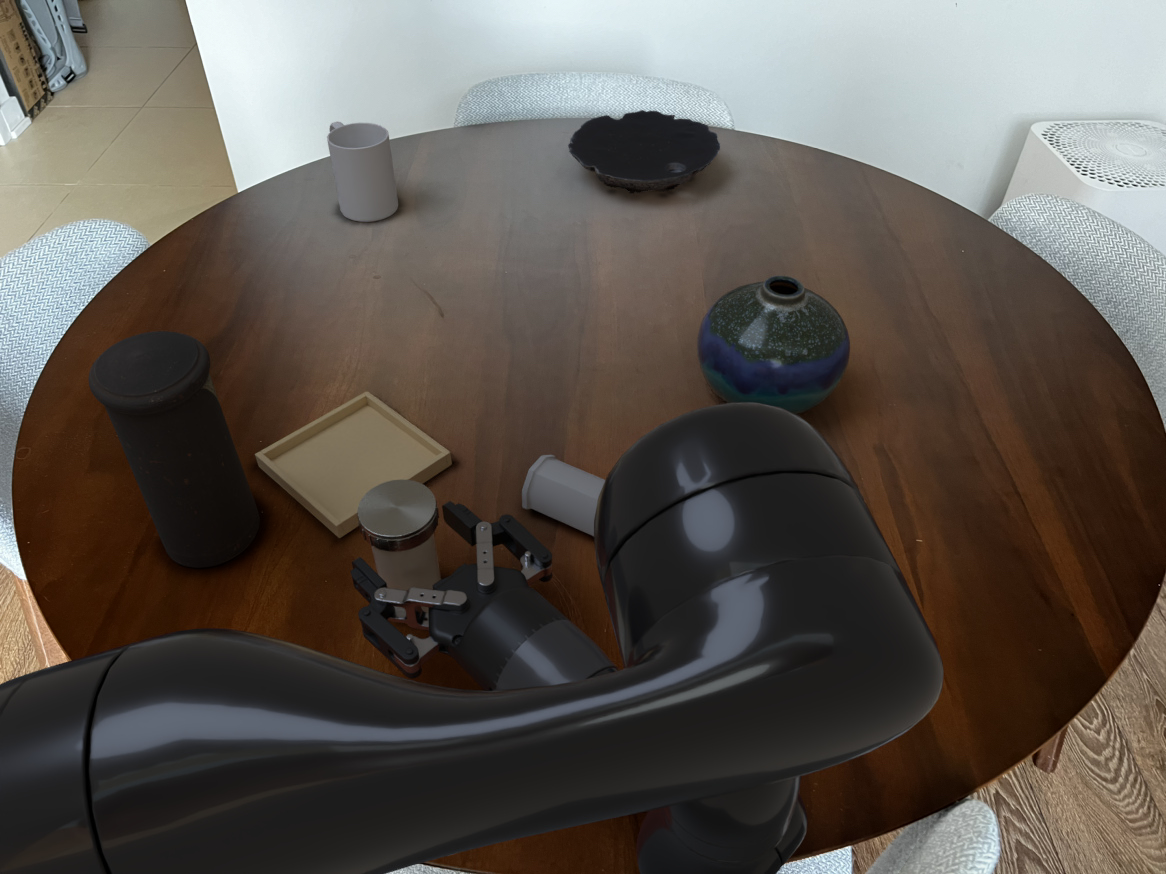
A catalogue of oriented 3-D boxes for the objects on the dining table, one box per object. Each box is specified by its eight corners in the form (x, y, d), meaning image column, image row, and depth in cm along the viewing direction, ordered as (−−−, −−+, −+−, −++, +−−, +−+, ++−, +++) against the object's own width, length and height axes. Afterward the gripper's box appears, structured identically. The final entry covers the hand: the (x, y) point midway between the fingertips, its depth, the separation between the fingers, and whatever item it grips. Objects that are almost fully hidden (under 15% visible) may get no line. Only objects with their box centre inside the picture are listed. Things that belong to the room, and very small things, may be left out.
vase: (866, 394, 97) (896, 289, 88) (776, 462, 89) (799, 354, 80) (753, 331, 105) (770, 228, 96) (661, 388, 97) (671, 282, 88)
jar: (408, 630, 74) (391, 546, 67) (371, 596, 77) (351, 511, 70) (455, 595, 77) (444, 510, 70) (417, 563, 79) (403, 478, 72)
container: (278, 500, 85) (223, 324, 71) (242, 576, 78) (174, 398, 64) (188, 493, 85) (116, 317, 72) (145, 568, 79) (57, 389, 65)
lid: (392, 565, 67) (389, 550, 66) (344, 523, 70) (340, 507, 69) (455, 522, 71) (453, 506, 69) (406, 483, 74) (403, 467, 72)
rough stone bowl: (725, 210, 126) (730, 176, 122) (568, 210, 125) (568, 175, 122) (707, 141, 142) (711, 109, 139) (567, 140, 142) (567, 108, 138)
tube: (812, 552, 76) (555, 445, 84) (795, 580, 71) (525, 465, 80) (794, 603, 78) (546, 494, 87) (776, 634, 74) (517, 516, 82)
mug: (409, 211, 125) (399, 138, 117) (356, 228, 121) (343, 154, 114) (368, 177, 132) (357, 106, 125) (317, 193, 128) (303, 120, 121)
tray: (339, 538, 81) (336, 526, 80) (258, 466, 88) (254, 454, 87) (452, 464, 88) (450, 451, 87) (369, 403, 95) (367, 390, 94)
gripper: (613, 576, 64) (469, 460, 73) (453, 700, 57) (314, 554, 65) (610, 638, 69) (476, 523, 78) (462, 759, 62) (332, 616, 71)
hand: (402, 537), depth 72 cm, fingers open, 8 cm apart
